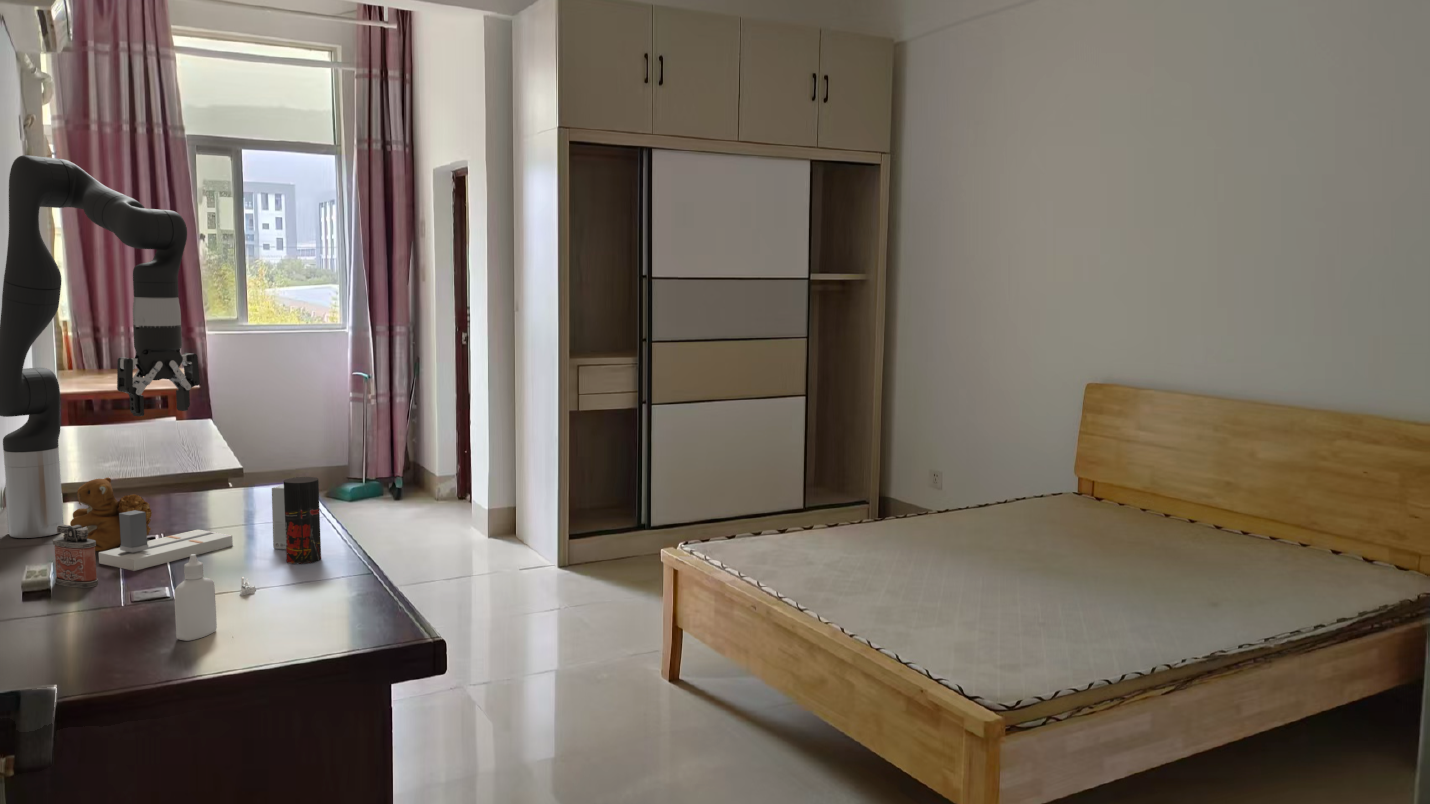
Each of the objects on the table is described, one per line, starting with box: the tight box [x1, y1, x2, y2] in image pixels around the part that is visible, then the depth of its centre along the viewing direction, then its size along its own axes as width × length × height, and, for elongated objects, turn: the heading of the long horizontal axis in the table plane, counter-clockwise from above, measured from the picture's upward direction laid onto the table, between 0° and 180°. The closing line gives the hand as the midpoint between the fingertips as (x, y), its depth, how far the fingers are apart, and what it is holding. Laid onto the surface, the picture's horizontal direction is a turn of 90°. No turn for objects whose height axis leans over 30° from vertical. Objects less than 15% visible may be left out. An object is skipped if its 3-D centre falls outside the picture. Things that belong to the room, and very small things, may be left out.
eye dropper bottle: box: [173, 554, 218, 642], centre depth 149 cm, size 4×6×12 cm
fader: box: [119, 510, 149, 553], centre depth 187 cm, size 4×3×7 cm
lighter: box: [52, 524, 99, 589], centre depth 174 cm, size 8×3×10 cm, turn 71°
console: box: [98, 529, 234, 572], centre depth 193 cm, size 10×20×2 cm, turn 153°
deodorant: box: [283, 476, 322, 565], centre depth 189 cm, size 6×6×15 cm
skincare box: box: [271, 483, 286, 550], centre depth 199 cm, size 6×4×12 cm
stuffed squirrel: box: [69, 477, 153, 553], centre depth 199 cm, size 10×14×13 cm
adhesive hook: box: [239, 576, 257, 596], centre depth 170 cm, size 3×3×3 cm
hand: (160, 413), depth 185 cm, fingers open, 8 cm apart
